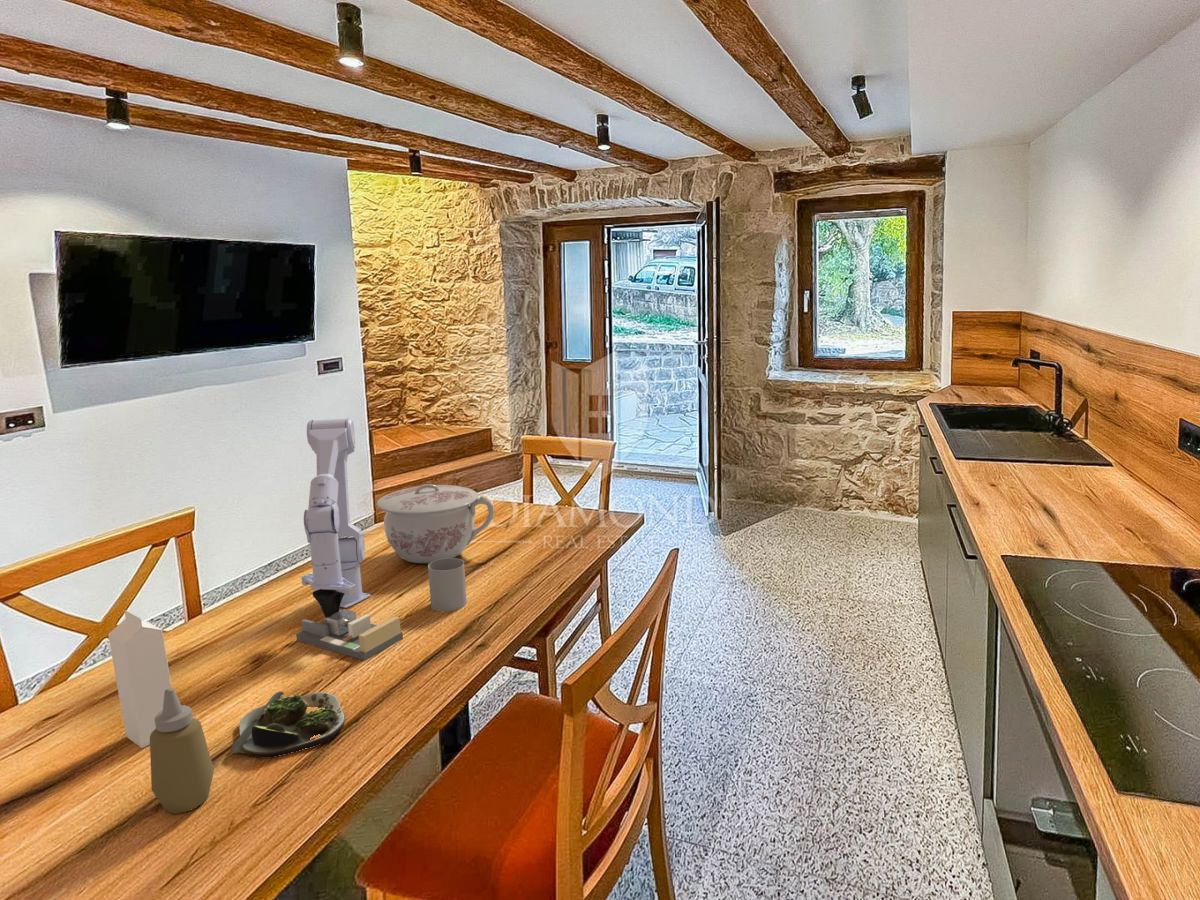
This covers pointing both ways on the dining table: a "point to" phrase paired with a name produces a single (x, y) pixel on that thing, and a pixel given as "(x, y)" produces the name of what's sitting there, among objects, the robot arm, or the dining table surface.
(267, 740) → the salad plate
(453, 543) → the chamber pot
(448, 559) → the cup
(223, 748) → the dining table surface
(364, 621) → the cream thin slab
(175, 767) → the squeeze bottle
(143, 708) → the milk
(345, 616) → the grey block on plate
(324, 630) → the gauge base
